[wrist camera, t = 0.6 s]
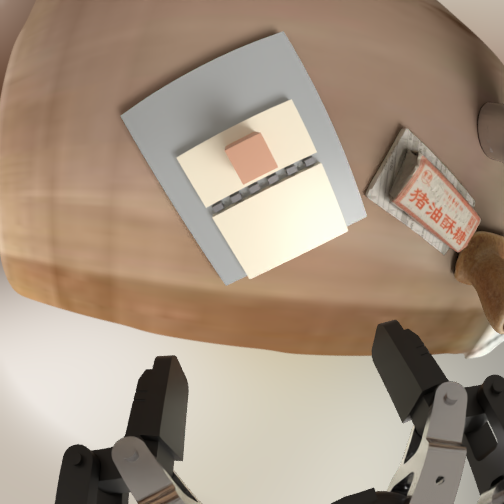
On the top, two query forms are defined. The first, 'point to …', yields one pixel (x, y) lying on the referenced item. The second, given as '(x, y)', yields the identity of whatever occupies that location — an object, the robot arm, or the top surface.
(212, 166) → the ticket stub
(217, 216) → the board
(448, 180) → the packaged product
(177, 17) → the top surface
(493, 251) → the brown hollow piece
